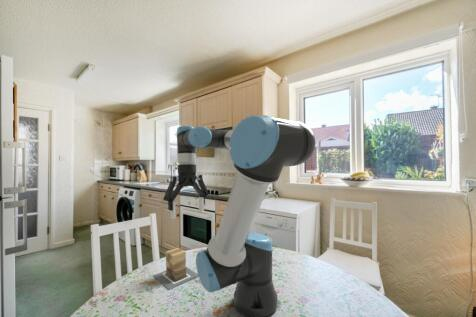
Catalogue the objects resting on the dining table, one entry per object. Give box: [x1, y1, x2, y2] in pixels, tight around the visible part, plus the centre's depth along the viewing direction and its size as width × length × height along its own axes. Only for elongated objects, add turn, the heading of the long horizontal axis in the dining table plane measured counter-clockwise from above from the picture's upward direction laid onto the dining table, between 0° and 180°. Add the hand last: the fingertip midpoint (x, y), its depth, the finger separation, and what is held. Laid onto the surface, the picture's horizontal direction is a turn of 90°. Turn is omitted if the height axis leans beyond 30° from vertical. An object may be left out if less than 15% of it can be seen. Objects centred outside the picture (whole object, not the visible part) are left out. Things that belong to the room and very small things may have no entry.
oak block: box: [165, 247, 187, 271], centre depth 93 cm, size 6×6×6 cm
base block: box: [165, 265, 187, 281], centre depth 92 cm, size 8×5×4 cm, turn 45°
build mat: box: [152, 266, 199, 291], centre depth 92 cm, size 14×14×1 cm
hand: (187, 215), depth 90 cm, fingers open, 13 cm apart
